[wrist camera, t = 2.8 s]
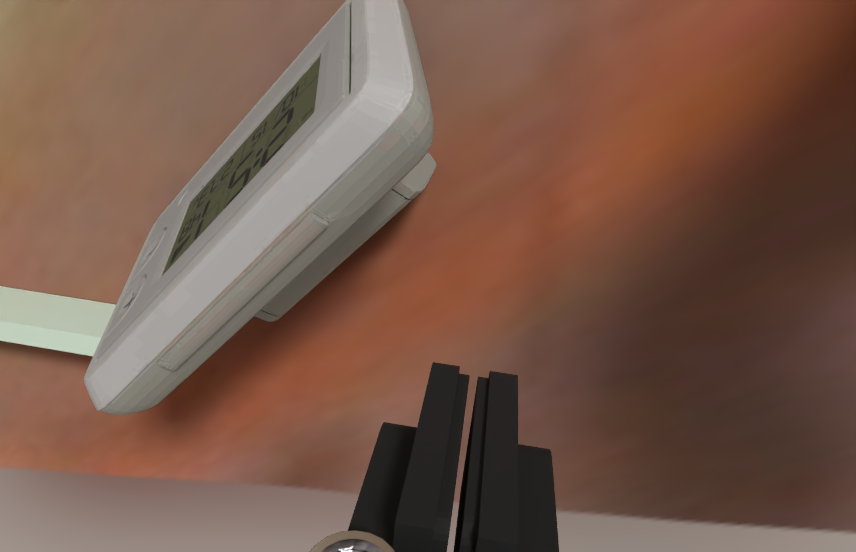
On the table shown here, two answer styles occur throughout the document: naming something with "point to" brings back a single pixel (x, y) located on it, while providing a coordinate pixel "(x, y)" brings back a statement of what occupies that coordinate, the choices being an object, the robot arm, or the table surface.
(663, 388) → the table surface
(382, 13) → the digital clock
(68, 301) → the mint u-shaped bracket
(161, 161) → the table surface
